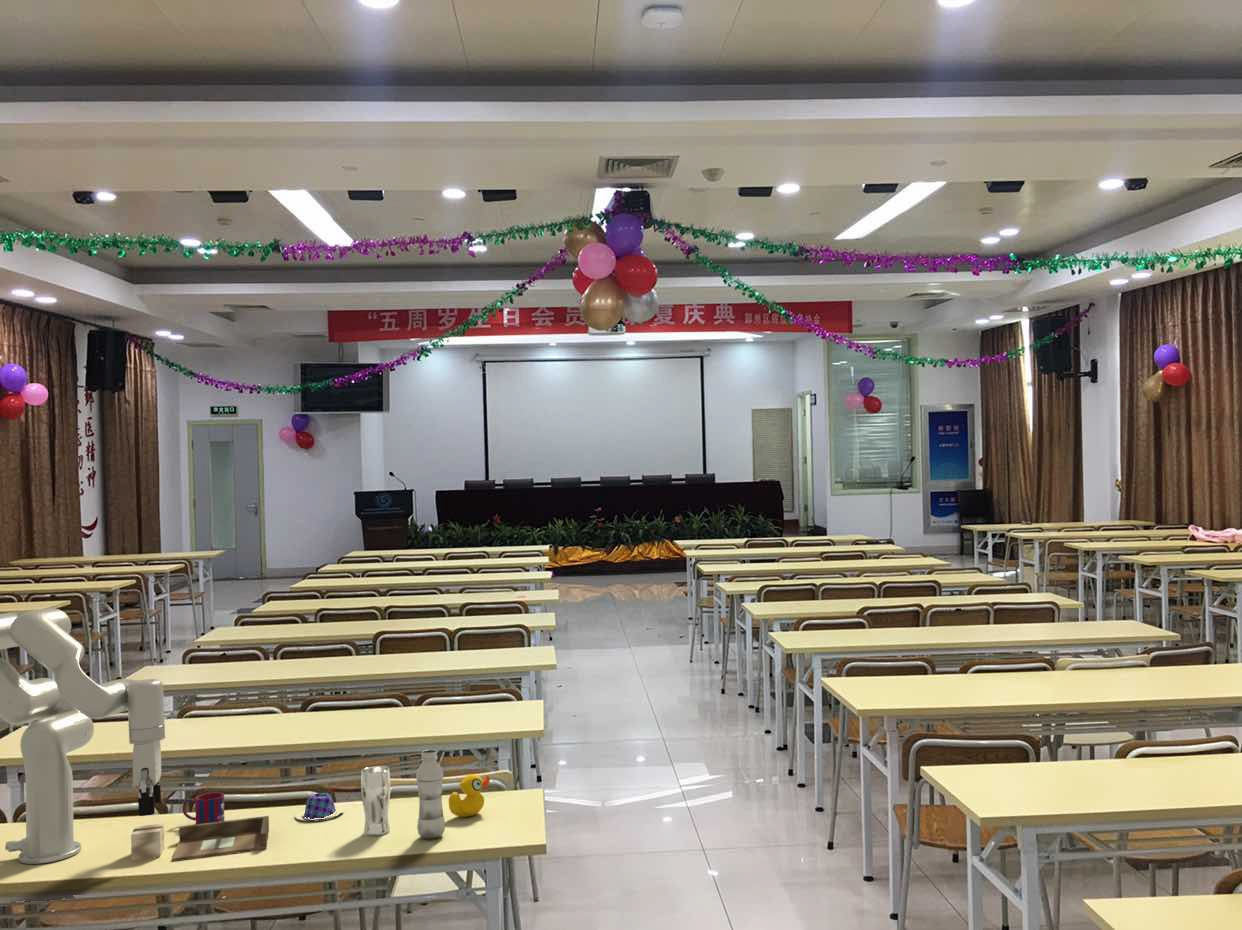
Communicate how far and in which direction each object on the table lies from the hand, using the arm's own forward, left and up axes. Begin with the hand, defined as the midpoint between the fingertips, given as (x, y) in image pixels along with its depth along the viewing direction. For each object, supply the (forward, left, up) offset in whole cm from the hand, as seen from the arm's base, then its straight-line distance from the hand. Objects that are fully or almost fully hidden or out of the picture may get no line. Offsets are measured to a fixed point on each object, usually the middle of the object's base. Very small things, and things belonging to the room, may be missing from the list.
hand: (150, 808), depth 228 cm
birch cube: (-1, 0, -11) cm, 11 cm away
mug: (+9, +20, -11) cm, 25 cm away
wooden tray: (+15, 0, -10) cm, 19 cm away
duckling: (+73, -1, -11) cm, 74 cm away
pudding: (+37, +15, -11) cm, 42 cm away
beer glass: (+50, -5, -11) cm, 52 cm away
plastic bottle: (+62, -14, -11) cm, 65 cm away
